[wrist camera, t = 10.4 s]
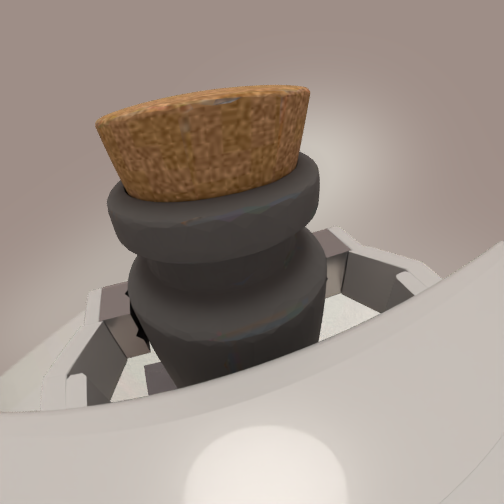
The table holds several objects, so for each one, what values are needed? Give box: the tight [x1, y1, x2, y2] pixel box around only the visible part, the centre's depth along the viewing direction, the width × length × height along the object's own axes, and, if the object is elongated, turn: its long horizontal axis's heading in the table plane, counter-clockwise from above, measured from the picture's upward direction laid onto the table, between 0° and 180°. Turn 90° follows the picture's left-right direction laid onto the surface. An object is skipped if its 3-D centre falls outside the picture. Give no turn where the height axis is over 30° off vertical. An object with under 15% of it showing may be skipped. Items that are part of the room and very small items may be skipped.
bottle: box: [95, 85, 327, 389], centre depth 10 cm, size 6×6×15 cm
